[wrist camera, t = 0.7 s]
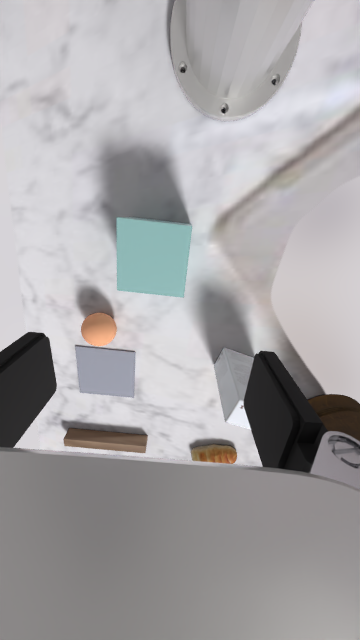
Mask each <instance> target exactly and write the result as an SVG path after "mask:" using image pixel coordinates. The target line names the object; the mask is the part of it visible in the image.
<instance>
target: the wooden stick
mask: <svg viewBox="0 0 360 640" xmlns="http://www.w3.org/2000/svg"><path fill="white" fill-rule="evenodd" d="M64 445H65V446H71V447H82V448H93V449H104V450H115V451H126V452H137V453H145V451H146V445H147V435H139V434H128V433H117V432H106V431H96V430H85V429H74V428H69V430H68V432H67V434H66V435H65V437H64Z"/></svg>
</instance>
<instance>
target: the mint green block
mask: <svg viewBox="0 0 360 640" xmlns="http://www.w3.org/2000/svg"><path fill="white" fill-rule="evenodd" d="M191 232H192V225H191V224H188V223H179V222H171V221H162V220H153V219H145V218H136V217H117V290H119V291H128V292H137V293H146V294H156V295H165V296H174V297H184V291H185V282H186V274H187V266H188V257H189V249H190V240H191Z"/></svg>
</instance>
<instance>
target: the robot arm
mask: <svg viewBox="0 0 360 640" xmlns="http://www.w3.org/2000/svg"><path fill="white" fill-rule="evenodd" d="M313 2H314V0H175V1H174V5H173V9H172V16H171V24H170V46H171V56H172V62H173V66H174V71H175V75H176V77H177V80H178V83H179V85H180V87H181V89H182V91H183V93H184V94H185V96H186V98H187V99H188V100H189V101H190V103H191V104H192V105H193V106H194V107H195V108H196V109H197V110H199V111H200V112H201V113H202V114H204V115H206V116H208V117H210V118H212V119H215V120H220V121H236V120H240V119H243V118H246V117H248V116H250V115H252V114H254V113H256V112H257V111H258V110H260V109H261V108H262V107H263V106H264V105H266V104H267V103H268V102H269V100H270V99H271V98H272V97H273V96H274V95H275V94H276V92H277V91H278V90H279V88H280V87H281V85H282V84H283V82H284V80H285V78H286V77H287V75H288V73H289V71H290V69H291V67H292V64H293V61H294V58H295V56H296V53H297V49H298V45H299V40H300V36H301V26H302V20H303V19H304V17H305V15H306V14H307V12H308V10H309V9H310V7H311V5H312V4H313ZM183 69H184V70H185V73H181V70H183ZM272 81H274V82H275V85H273V84H272ZM222 109H225V111H226V113H225V114H223V113H222V112H221V110H222ZM56 387H57V384H56V378H55V372H54V366H53V360H52V354H51V348H50V342H49V338H48V337H46V336H45V334H44V333H36V332H28V333H26V334H25V335H24V336H22V337H21V338H19V339H18V340H16V341H15V342H14V343H12V344H11V345H9V346H8V347H7V348H5V349H4V350H2V351H1V352H0V640H360V441H358V440H357V439H355V438H353V437H352V436H349V435H347V434H345V433H341V432H337V431H329V432H328V430H327V429H326V427H325V426H324V424H323V422H322V421H321V419H320V418H319V416H318V415H317V413H316V412H315V410H314V409H313V408H312V406H311V405H310V403H309V402H308V400H307V399H306V397H305V396H304V394H303V393H302V392H301V390H300V389H299V387H298V386H297V384H296V383H295V381H294V380H293V378H292V377H291V376H290V374H289V373H288V371H287V370H286V368H285V367H284V365H283V364H282V363H281V361H280V360H279V358H278V357H277V355H276V354H275V353H274V352H269V351H260V352H259V354H256V355H255V357H254V361H253V365H252V369H251V373H250V377H249V381H248V385H247V389H246V393H245V397H244V409H245V412H246V415H247V418H248V421H249V425H250V428H251V431H252V434H253V437H254V440H255V443H256V446H257V449H258V453H259V456H260V459H261V462H262V465H263V467H258V466H248V465H237V464H226V463H213V462H201V461H188V460H175V459H163V458H149V457H136V456H122V455H108V454H94V453H80V452H66V451H51V450H35V449H21V448H13V447H14V446H15V445H16V443H17V442H18V441H19V439H20V438H21V437H22V435H23V434H24V433H25V431H26V430H27V429H28V427H29V426H30V425H31V423H32V422H33V421H34V419H35V418H36V417H37V416H38V414H39V413H40V412H41V410H42V409H43V408H44V406H45V405H46V404H47V402H48V401H49V400H50V398H51V397H52V396H53V394H54V393H55V391H56Z"/></svg>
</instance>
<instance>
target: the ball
mask: <svg viewBox="0 0 360 640" xmlns="http://www.w3.org/2000/svg"><path fill="white" fill-rule="evenodd" d="M116 331H117V327H116V323H115V321H114V320H113V319H112V317H110V316H109V315H107V314H105V313H94V314H91V315H89V316H88V317H87V318H86V319H85V320H84V321H83V323H82V327H81V333H82V336H83V338H84V339H85V340H86V342H88V343H89V344H91V345H94V346H103V345H106V344H108V343H110V342H111V341H112V340H113V339H114V337H115V335H116Z"/></svg>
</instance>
